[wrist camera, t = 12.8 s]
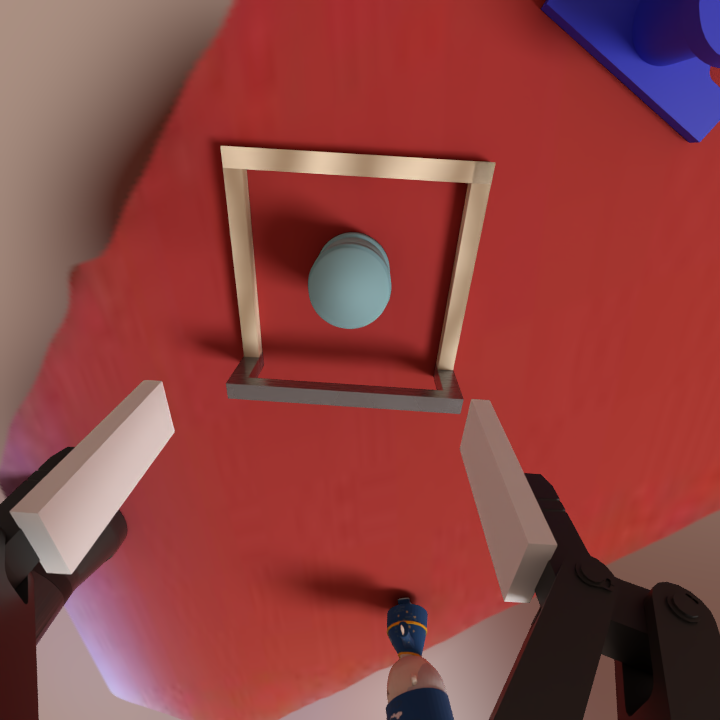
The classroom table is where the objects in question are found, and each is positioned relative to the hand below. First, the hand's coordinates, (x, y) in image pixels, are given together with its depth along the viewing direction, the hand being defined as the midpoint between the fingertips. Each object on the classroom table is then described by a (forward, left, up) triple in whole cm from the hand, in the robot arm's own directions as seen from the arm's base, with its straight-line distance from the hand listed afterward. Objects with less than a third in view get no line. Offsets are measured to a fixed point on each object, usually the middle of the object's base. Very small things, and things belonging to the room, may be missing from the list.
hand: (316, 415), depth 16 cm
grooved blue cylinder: (0, +1, -21) cm, 21 cm away
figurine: (+12, -52, -21) cm, 57 cm away
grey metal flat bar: (0, -9, -21) cm, 23 cm away
